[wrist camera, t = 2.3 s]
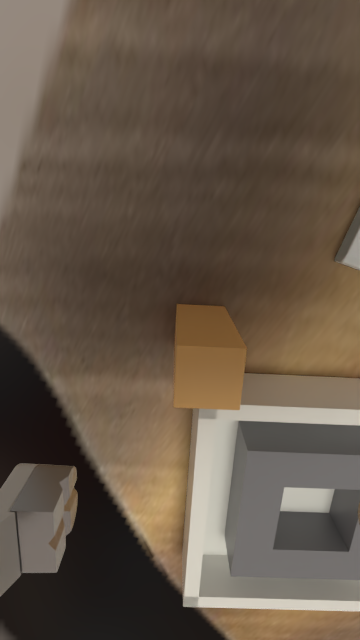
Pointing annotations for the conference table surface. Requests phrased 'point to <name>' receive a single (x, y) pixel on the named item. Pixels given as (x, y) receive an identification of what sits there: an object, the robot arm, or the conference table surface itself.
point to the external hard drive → (351, 245)
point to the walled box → (275, 498)
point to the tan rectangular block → (207, 359)
